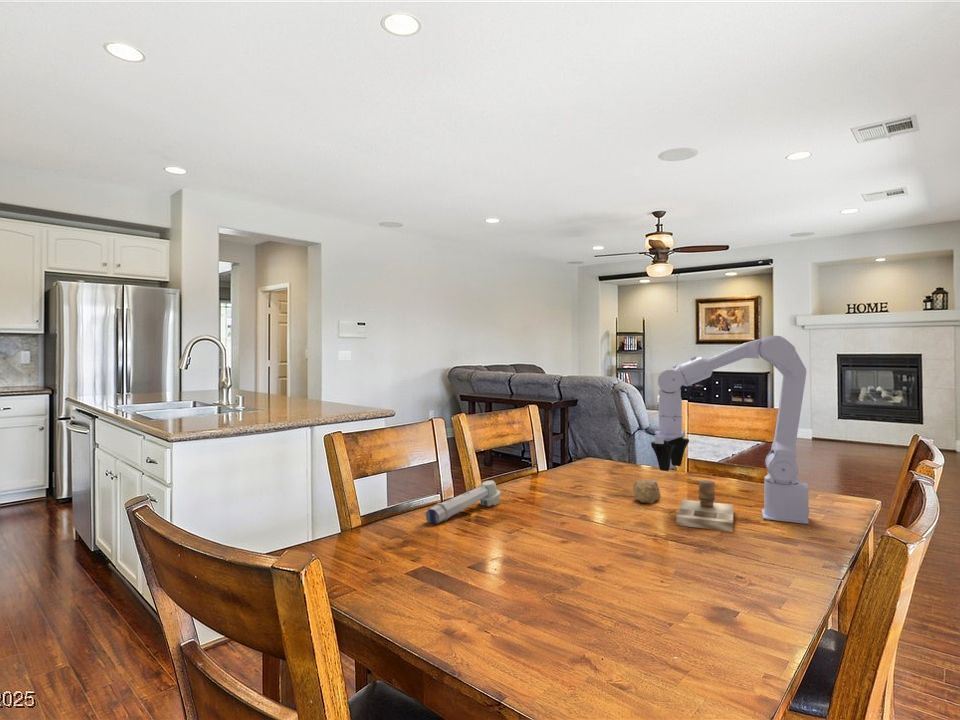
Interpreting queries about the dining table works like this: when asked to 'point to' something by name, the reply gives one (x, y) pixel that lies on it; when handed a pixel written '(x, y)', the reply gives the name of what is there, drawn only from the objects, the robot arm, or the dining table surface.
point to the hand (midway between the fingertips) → (670, 468)
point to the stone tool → (646, 491)
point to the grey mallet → (464, 502)
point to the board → (705, 516)
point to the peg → (706, 493)
